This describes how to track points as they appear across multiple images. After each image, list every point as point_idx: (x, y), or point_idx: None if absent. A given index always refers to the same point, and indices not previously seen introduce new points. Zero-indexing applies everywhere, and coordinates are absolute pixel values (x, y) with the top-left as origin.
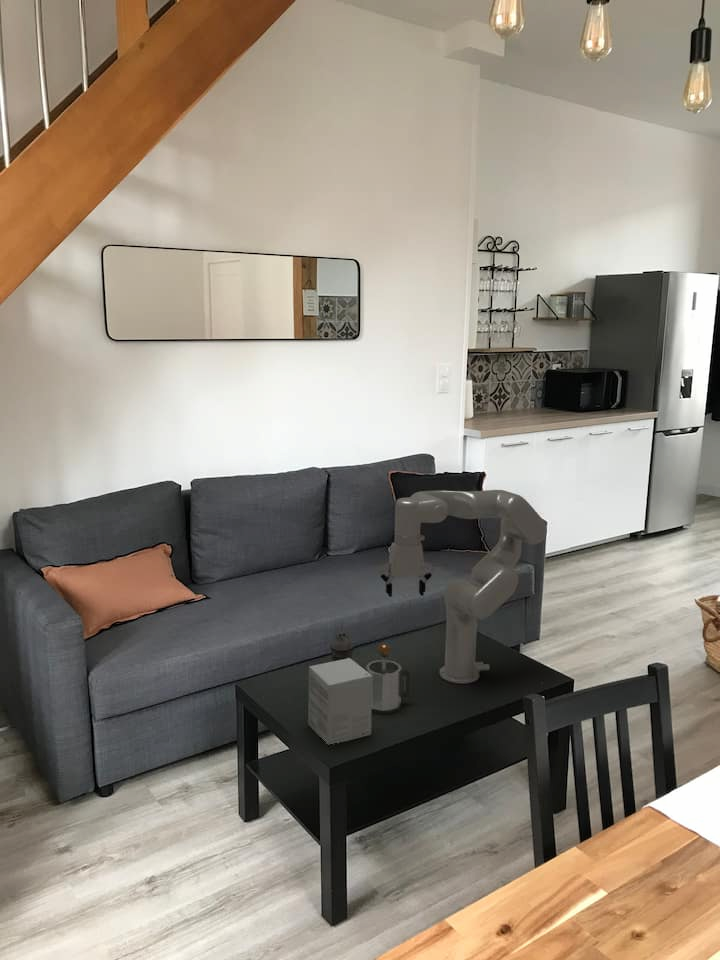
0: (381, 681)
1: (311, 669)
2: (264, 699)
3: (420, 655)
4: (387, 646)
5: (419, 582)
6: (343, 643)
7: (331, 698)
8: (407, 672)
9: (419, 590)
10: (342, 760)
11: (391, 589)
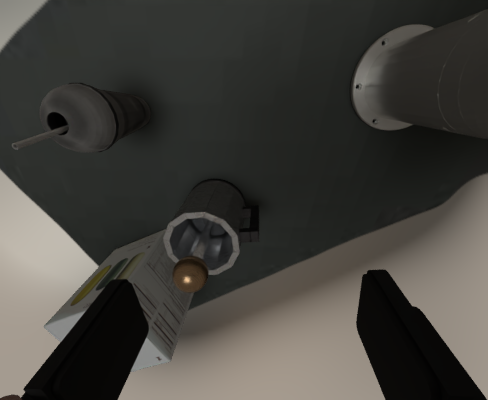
0: None
1: (53, 333)
2: (24, 179)
3: None
4: (194, 290)
5: (415, 377)
6: (81, 150)
7: None
8: (253, 241)
9: (370, 305)
10: None
11: (119, 387)
